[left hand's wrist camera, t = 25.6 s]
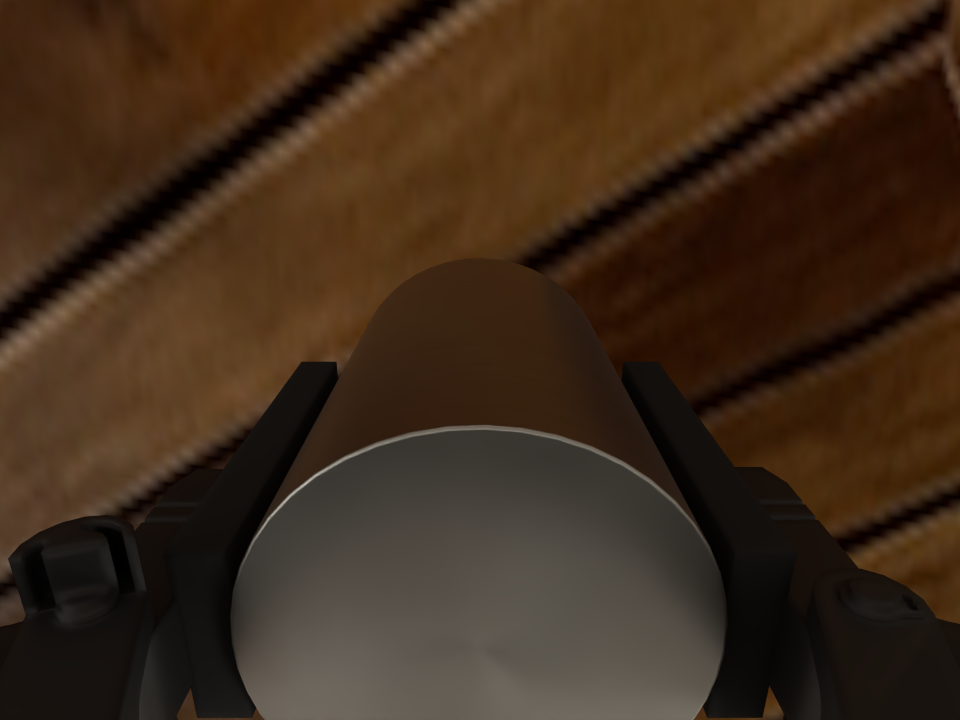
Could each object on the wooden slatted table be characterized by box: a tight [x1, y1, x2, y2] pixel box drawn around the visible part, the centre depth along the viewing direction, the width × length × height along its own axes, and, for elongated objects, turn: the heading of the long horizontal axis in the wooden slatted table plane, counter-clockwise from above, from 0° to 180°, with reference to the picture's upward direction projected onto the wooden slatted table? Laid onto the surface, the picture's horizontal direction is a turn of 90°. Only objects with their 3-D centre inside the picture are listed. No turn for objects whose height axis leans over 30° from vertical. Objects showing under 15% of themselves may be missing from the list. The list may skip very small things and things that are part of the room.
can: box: [230, 258, 728, 720], centre depth 12 cm, size 6×6×9 cm
